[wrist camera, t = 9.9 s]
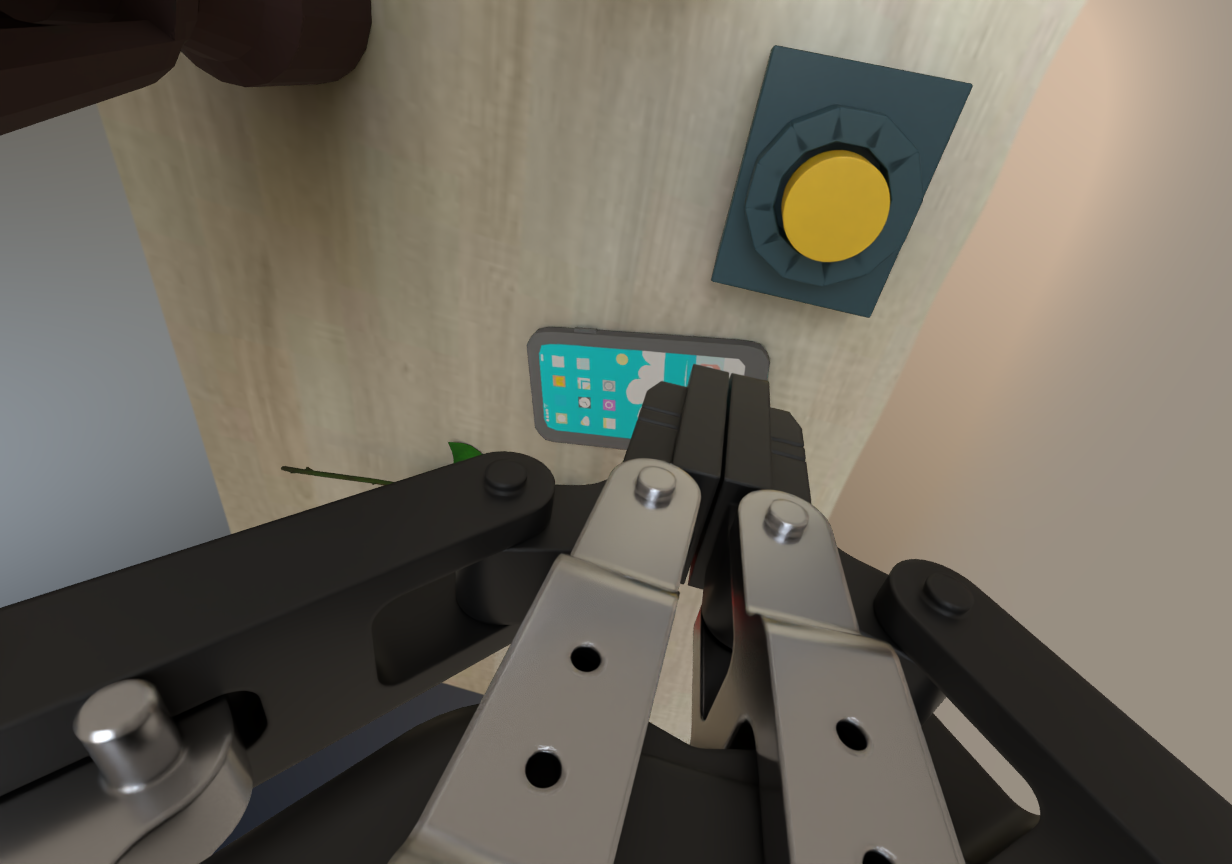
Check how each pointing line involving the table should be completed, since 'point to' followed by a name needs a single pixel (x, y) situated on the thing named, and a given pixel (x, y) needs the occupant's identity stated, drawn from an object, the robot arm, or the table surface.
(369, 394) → the table surface
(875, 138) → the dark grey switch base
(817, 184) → the button
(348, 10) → the lantern
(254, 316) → the table surface
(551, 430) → the smartphone
